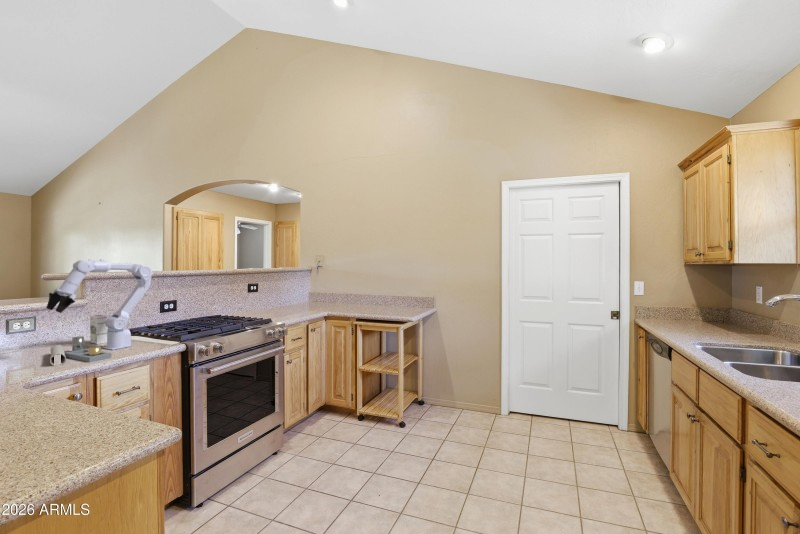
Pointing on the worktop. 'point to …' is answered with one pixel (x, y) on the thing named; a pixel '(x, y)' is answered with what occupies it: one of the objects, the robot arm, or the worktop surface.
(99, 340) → the syrup box
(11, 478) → the worktop surface
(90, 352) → the seated bushing
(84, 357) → the jig
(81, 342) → the cylinder
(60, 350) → the tube
